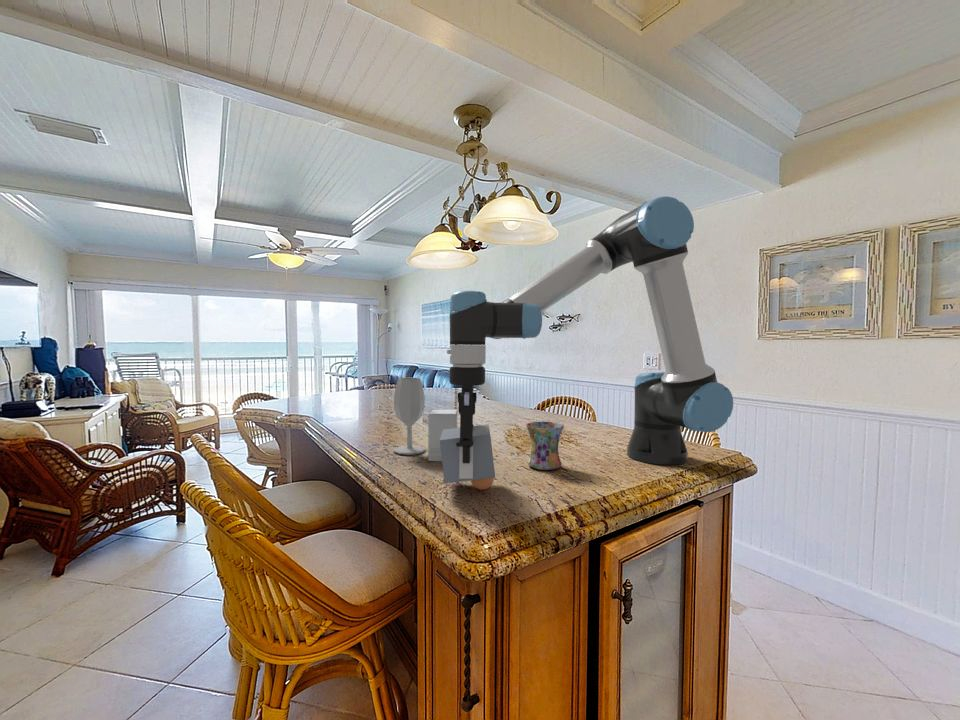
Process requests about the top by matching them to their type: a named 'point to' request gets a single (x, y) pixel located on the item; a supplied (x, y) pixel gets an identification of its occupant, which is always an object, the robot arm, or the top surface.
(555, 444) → the mug
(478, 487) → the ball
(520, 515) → the top surface
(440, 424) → the supplement box
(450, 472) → the gray tilted carton
